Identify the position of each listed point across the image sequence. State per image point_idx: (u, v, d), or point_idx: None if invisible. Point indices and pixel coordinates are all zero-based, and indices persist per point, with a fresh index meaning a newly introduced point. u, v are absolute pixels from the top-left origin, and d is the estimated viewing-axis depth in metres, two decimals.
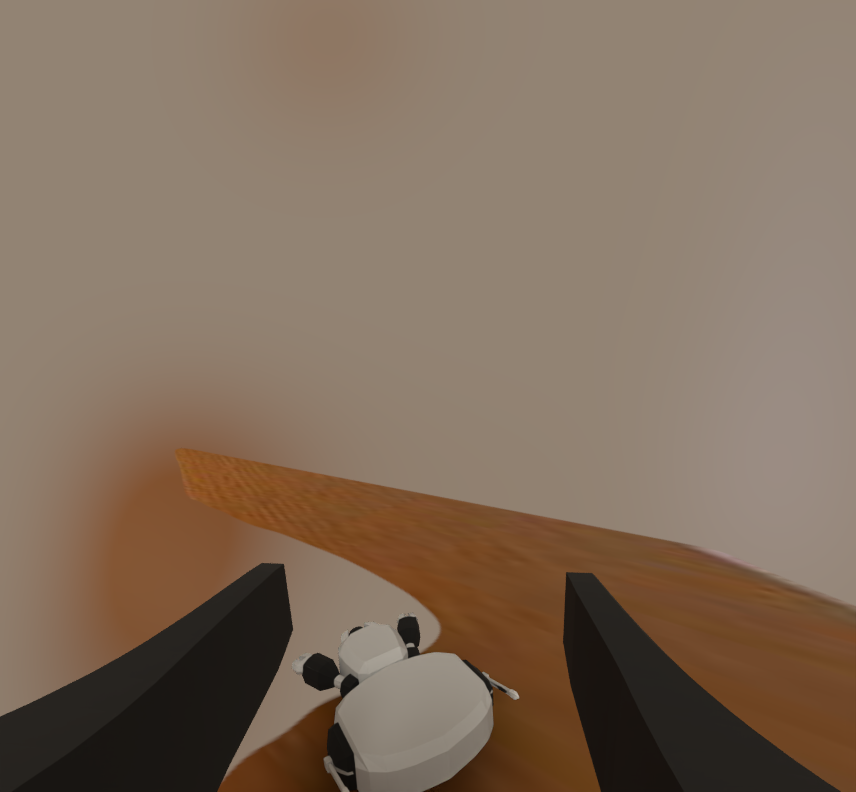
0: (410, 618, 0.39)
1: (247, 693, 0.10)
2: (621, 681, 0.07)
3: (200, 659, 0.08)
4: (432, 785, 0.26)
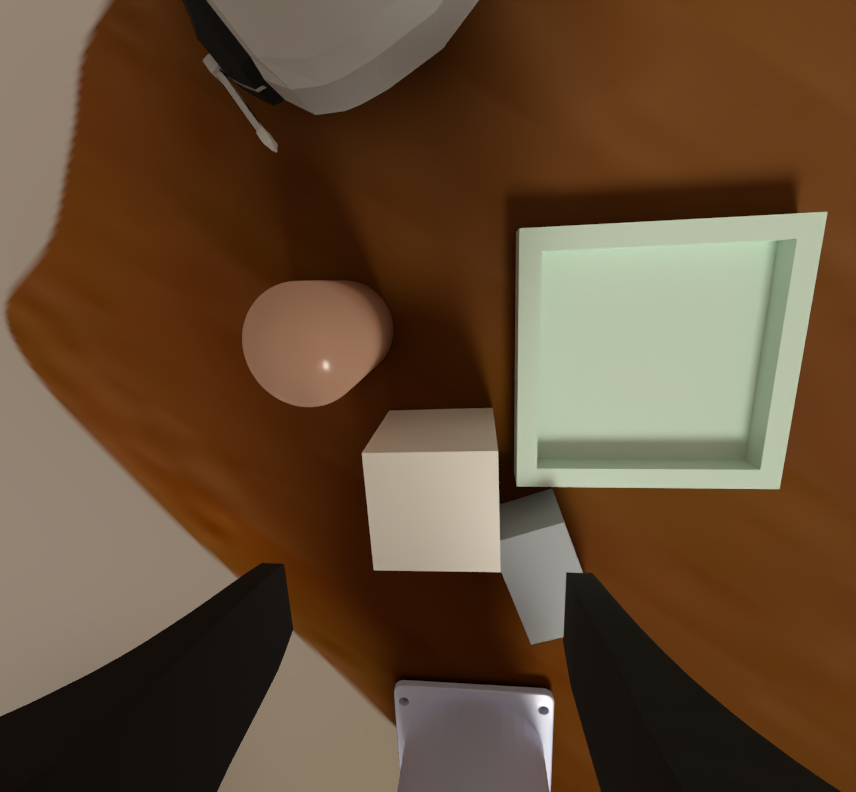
0: None
1: (247, 693, 0.10)
2: (621, 681, 0.07)
3: (200, 660, 0.08)
4: (411, 69, 0.14)
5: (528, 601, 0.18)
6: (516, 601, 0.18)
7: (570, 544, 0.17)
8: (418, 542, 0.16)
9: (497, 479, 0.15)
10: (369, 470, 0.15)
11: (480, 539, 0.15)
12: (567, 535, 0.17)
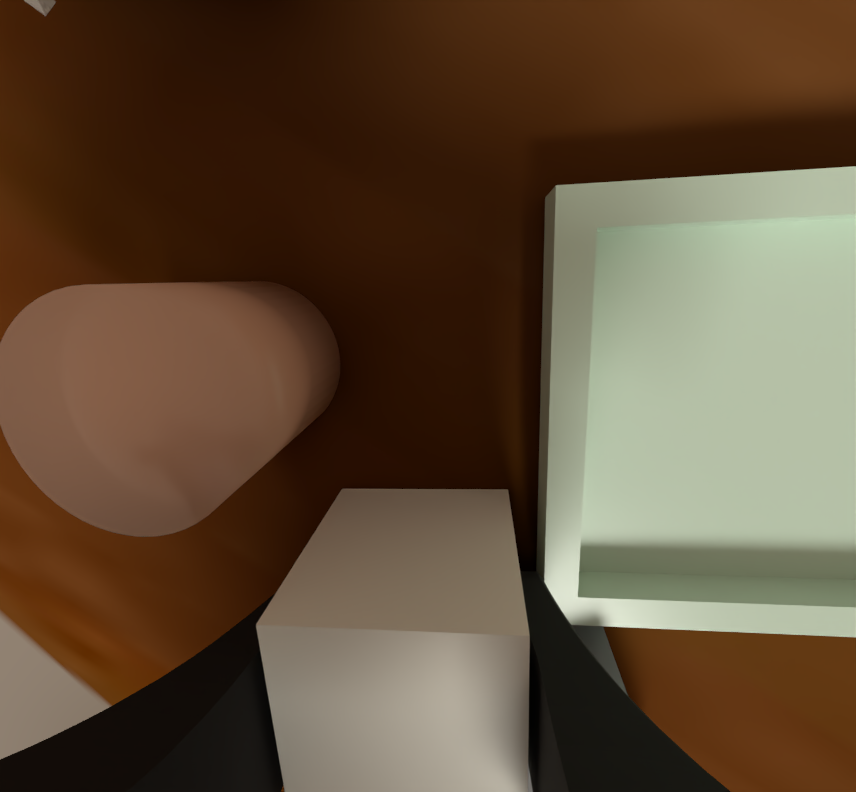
0: None
1: None
2: (541, 677, 0.07)
3: None
4: None
5: None
6: None
7: None
8: (370, 782, 0.08)
9: (526, 688, 0.07)
10: (272, 655, 0.08)
11: (490, 786, 0.08)
12: None
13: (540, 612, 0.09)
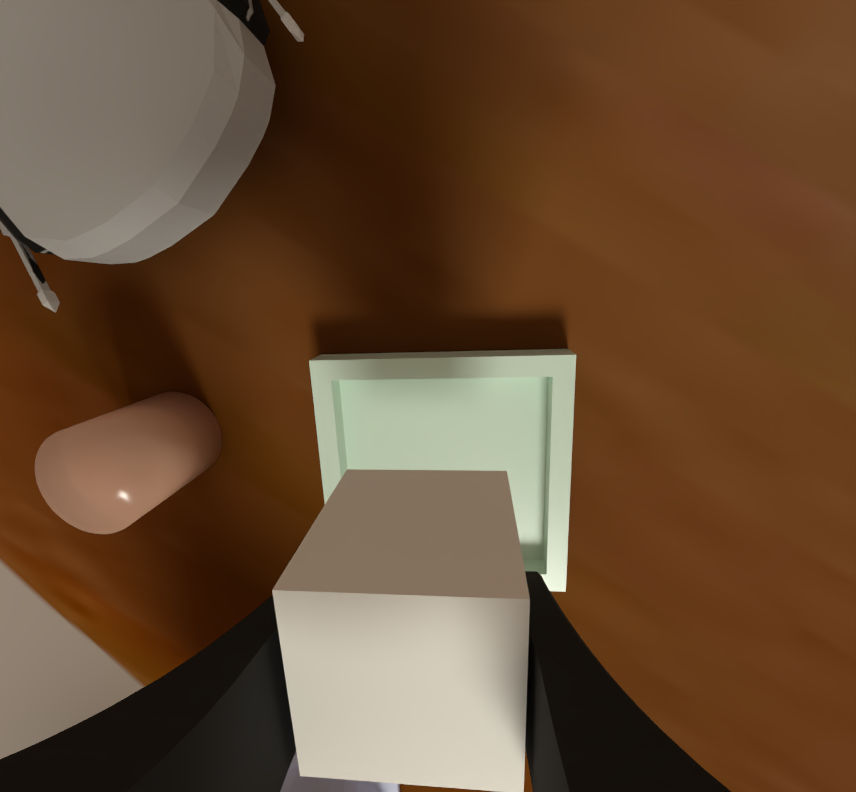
0: None
1: None
2: (541, 677, 0.07)
3: (265, 663, 0.08)
4: (188, 231, 0.16)
5: None
6: None
7: None
8: (378, 739, 0.09)
9: (526, 648, 0.08)
10: (287, 619, 0.08)
11: (490, 741, 0.08)
12: None
13: (540, 612, 0.09)
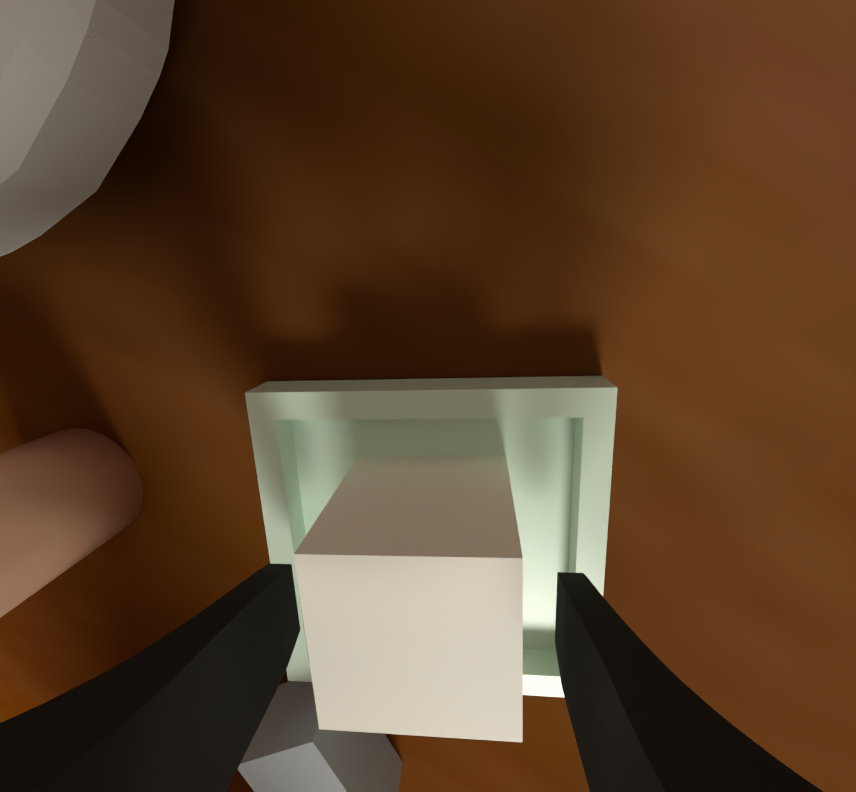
0: None
1: (255, 694, 0.10)
2: (608, 680, 0.07)
3: (211, 660, 0.08)
4: (61, 215, 0.11)
5: None
6: None
7: (327, 765, 0.14)
8: (389, 692, 0.10)
9: (520, 603, 0.09)
10: (307, 581, 0.09)
11: (490, 692, 0.09)
12: (320, 755, 0.14)
13: (596, 614, 0.09)
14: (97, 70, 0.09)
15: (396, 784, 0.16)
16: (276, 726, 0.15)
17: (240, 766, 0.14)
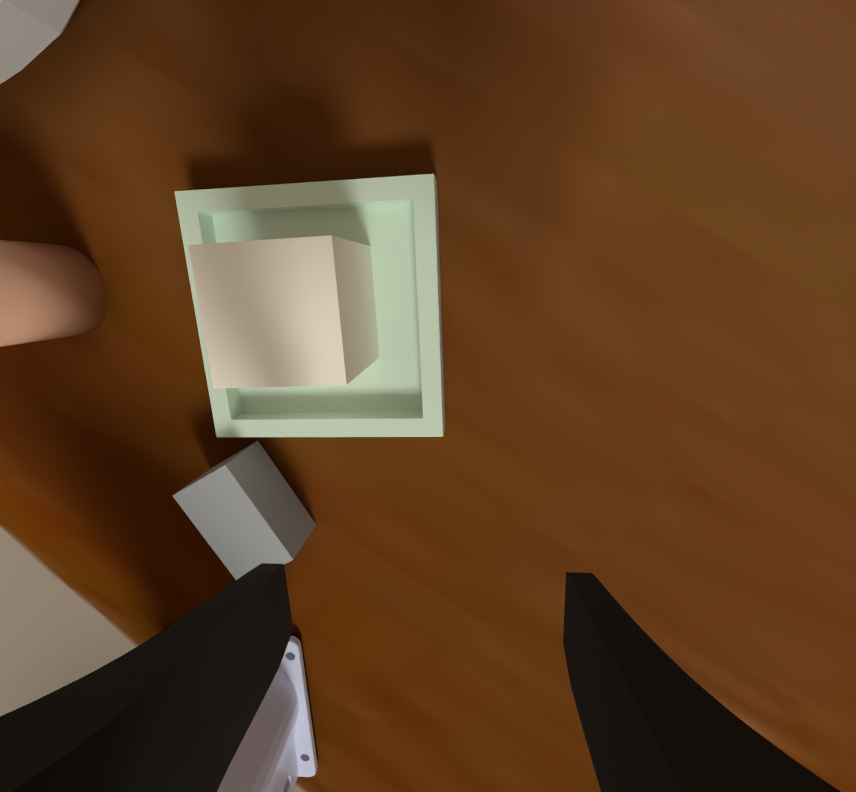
0: None
1: (247, 693, 0.10)
2: (621, 681, 0.07)
3: (200, 659, 0.08)
4: (35, 52, 0.16)
5: (223, 545, 0.19)
6: (214, 546, 0.20)
7: (238, 485, 0.19)
8: (257, 352, 0.14)
9: (333, 270, 0.13)
10: (198, 266, 0.14)
11: (322, 345, 0.14)
12: (232, 477, 0.19)
13: (607, 615, 0.09)
14: None
15: (307, 531, 0.21)
16: (205, 474, 0.20)
17: (176, 495, 0.19)
